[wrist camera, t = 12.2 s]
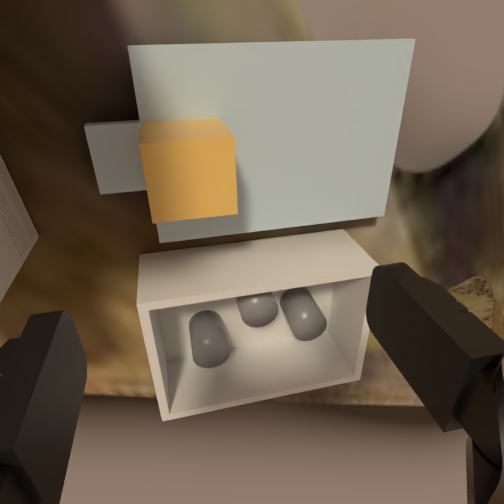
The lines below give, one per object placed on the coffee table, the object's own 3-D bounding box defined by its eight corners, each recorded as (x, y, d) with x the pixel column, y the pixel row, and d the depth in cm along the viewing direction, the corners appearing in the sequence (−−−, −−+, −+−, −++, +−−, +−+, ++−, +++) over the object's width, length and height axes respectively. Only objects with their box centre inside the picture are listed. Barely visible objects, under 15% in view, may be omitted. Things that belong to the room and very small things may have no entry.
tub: (342, 228, 30) (381, 267, 25) (330, 331, 36) (360, 379, 31) (139, 254, 27) (136, 304, 22) (160, 361, 33) (162, 421, 28)
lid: (396, 38, 24) (477, 38, 18) (370, 205, 30) (425, 247, 24) (72, 46, 20) (39, 49, 14) (115, 235, 26) (104, 293, 20)
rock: (517, 258, 33) (430, 279, 30) (573, 352, 30) (483, 387, 27) (437, 294, 43) (365, 314, 40) (473, 369, 40) (398, 396, 37)
